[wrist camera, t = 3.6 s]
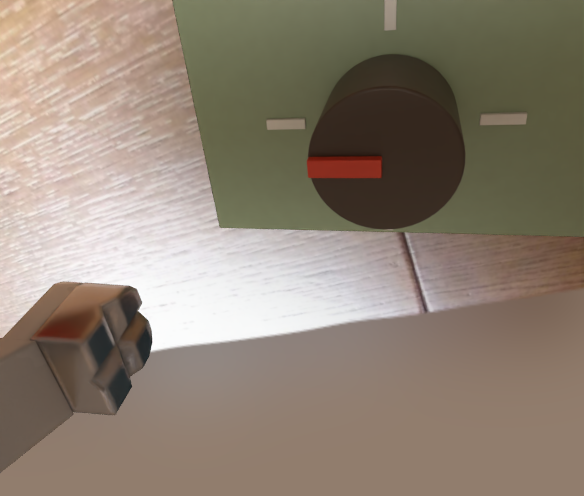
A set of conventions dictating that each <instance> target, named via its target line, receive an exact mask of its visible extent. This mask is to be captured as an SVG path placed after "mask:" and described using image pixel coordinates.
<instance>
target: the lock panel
mask: <svg viewBox="0 0 584 496" xmlns="http://www.w3.org/2000/svg"><path fill="white" fill-rule="evenodd" d="M172 1H173V6H174V11H175V16H176V21H177V25H178V30H179V35H180V40H181V44H182V49H183V54H184V59H185V64H186V68H187V73H188V78H189V83H190V88H191V92H192V97H193V102H194V107H195V111H196V116H197V121H198V126H199V131H200V135H201V140H202V145H203V150H204V154H205V159H206V164H207V169H208V174H209V178H210V183H211V188H212V193H213V198H214V202H215V207H216V212H217V217H218V221H219V226H220V228H251V229H291V230H331V231H371V232H411V233H452V234H492V235H532V236H572V237H584V0H172ZM388 54H400V55H407V56H411V57H414V58H418V59H420V60H422V61H424V62H426V63H428V64H429V65H431V66H432V67H434V68H435V69H436V70H437V71H438V72H440V73H441V75H442V76H443V77H444V78H445V79H446V81H447V82H448V84H449V85H450V87H451V89H452V91H453V93H454V96H455V100H456V103H457V108H458V113H459V119H460V124H461V129H462V134H463V139H464V145H465V153H466V155H465V168H464V173H463V176H462V179H461V182H460V184H459V186H458V188H457V190H456V192H455V193H454V195H453V196H452V198H451V199H450V200H449V201H448V202H447V203H446V205H445V206H444V207H442V208H441V209H440V210H439V211H438V212H437V213H435V214H434V215H432V216H431V217H429V218H428V219H426V220H424V221H422V222H420V223H417V224H415V225H412V226H408V227H404V228H399V229H387V230H382V229H372V228H367V227H363V226H360V225H357V224H354V223H352V222H350V221H347V220H346V219H344V218H342V217H341V216H339V215H338V214H336V213H335V212H334V211H333V210H332V209H330V208H329V207H328V206H327V205H326V203H325V202H324V201H323V200H322V199H321V197H320V196H319V194H318V192H317V191H316V189H315V187H314V185H313V182H312V180H311V178H308V171H307V159H308V150H309V144H310V140H311V136H312V134H313V132H314V129H315V127H316V125H317V123H318V120H319V118H320V116H321V114H322V112H323V109H324V107H325V105H326V103H327V101H328V98H329V96H330V94H331V92H332V90H333V88H334V87H335V85H336V84H337V82H338V81H339V80H340V78H341V77H342V76H343V75H344V74H345V73H346V72H347V71H349V70H350V69H351V68H353V67H354V66H355V65H357V64H359V63H361V62H362V61H365V60H367V59H370V58H372V57H376V56H380V55H388Z"/></svg>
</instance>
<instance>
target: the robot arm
mask: <svg viewBox="0 0 584 496" xmlns="http://www.w3.org/2000/svg"><path fill="white" fill-rule="evenodd" d="M141 304H142V301H141V299H140V296H139V293H138V291H137V289H135V288H133V287H131V286H124V285H110V284H96V283H77V282H59V283H56V284H54V285H53V286H52V287H51V288H50V289H49V290H48V291H47V292H46V293H45V294H44V295H43V296H42V297H41V298H40V299H39V300H38V301H37V303H36V304H35V305H34V306H33V307H32V308H31V309H30V310H29V311H28V312H27V313H26V314H25V315H24V316H23V317H22V318H21V319H20V320H19V321H18V322H17V323H16V325H15V326H14V327H13V328H12V329H11V330H10V331H9V332H8V333H7V334H6V335H5V336H4V337H3V338H0V473H1V472H2V471H3V470H4V469H6V468H7V467H8V466H9V465H11V464H12V463H13V462H15V461H16V460H17V459H18V458H20V457H21V456H22V455H23V454H25V453H26V452H27V451H28V450H30V449H31V448H32V447H33V446H35V445H36V444H37V443H38V442H40V441H41V440H42V439H43V438H45V437H46V436H47V435H48V434H50V433H51V432H52V431H53V430H55V429H56V428H57V427H58V426H60V425H61V424H62V423H63V422H65V421H66V420H67V419H69V418H70V417H71V416H72V415H73V412H80V413H92V414H104V415H115V414H116V413H117V411H118V410H119V408H120V406H121V404H122V403H123V401H124V399H125V398H126V396H127V394H128V392H129V391H130V389H131V387H132V385H131V380H130V376H132V375H133V374H135V373H136V372H137V371H139V370H141V369H142V368H143V366H144V365H145V363H146V361H147V359H148V357H149V354H150V350H151V345H152V331H151V327H150V324H149V321H148V320H147V319H146V318H145V317H144V316H143V315H142V314H141V313H139V312H138V310H139V308H140V306H141Z"/></svg>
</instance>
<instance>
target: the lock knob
mask: <svg viewBox="0 0 584 496" xmlns="http://www.w3.org/2000/svg"><path fill="white" fill-rule="evenodd" d="M465 155H466V153H465V145H464V139H463V134H462V129H461V124H460V119H459V113H458V108H457V103H456V100H455V96H454V93H453V91H452V89H451V87H450V85H449V84H448V82H447V81H446V79H445V78H444V77H443V76H442V75H441V73H440V72H438V71H437V70H436V69H435V68H434V67H432V66H431V65H429V64H428V63H426V62H424V61H422V60H420V59H418V58H414V57H411V56H407V55H400V54H388V55H380V56H376V57H372V58H370V59H367V60H365V61H362V62H361V63H359V64H357V65H355V66H354V67H353V68H351V69H350V70H349V71H347V72H346V73H345V74H344V75H343V76H342V77H341V78H340V80H339V81H338V82H337V84H336V85H335V87H334V88H333V90H332V92H331V94H330V96H329V98H328V101H327V103H326V105H325V107H324V109H323V112H322V114H321V116H320V118H319V120H318V123H317V125H316V127H315V129H314V132H313V134H312V136H311V140H310V144H309V150H308V159H307V171H308V178H311V180H312V182H313V185H314V187H315V189H316V191H317V192H318V194H319V196H320V197H321V199H322V200H323V201H324V202H325V203H326V205H327V206H328V207H329V208H330V209H332V210H333V211H334V212H335V213H336V214H338V215H339V216H341V217H342V218H344V219H346V220H347V221H350V222H352V223H354V224H357V225H360V226H363V227H367V228H372V229H382V230H387V229H399V228H404V227H408V226H412V225H415V224H417V223H420V222H422V221H424V220H426V219H428V218H429V217H431V216H432V215H434V214H435V213H437V212H438V211H439V210H440V209H441V208H442V207H444V206H445V205H446V203H447V202H448V201H449V200H450V199H451V198H452V196H453V195H454V193H455V192H456V190H457V188H458V186H459V184H460V182H461V179H462V176H463V173H464V168H465Z"/></svg>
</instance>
